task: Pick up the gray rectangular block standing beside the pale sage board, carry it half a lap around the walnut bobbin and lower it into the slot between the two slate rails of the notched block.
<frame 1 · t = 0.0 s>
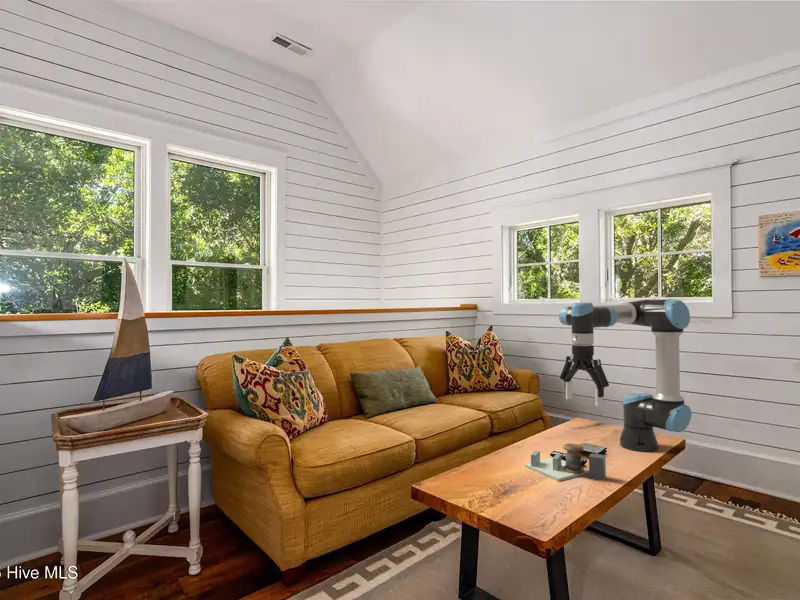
hand: (583, 402, 175), 28 cm above the table, fingers open, 13 cm apart
gray rectangular block: (597, 477, 176), on the table
notch: (546, 468, 185), resting on board
bobbin: (573, 472, 180), resting on board
board: (556, 469, 184), on the table
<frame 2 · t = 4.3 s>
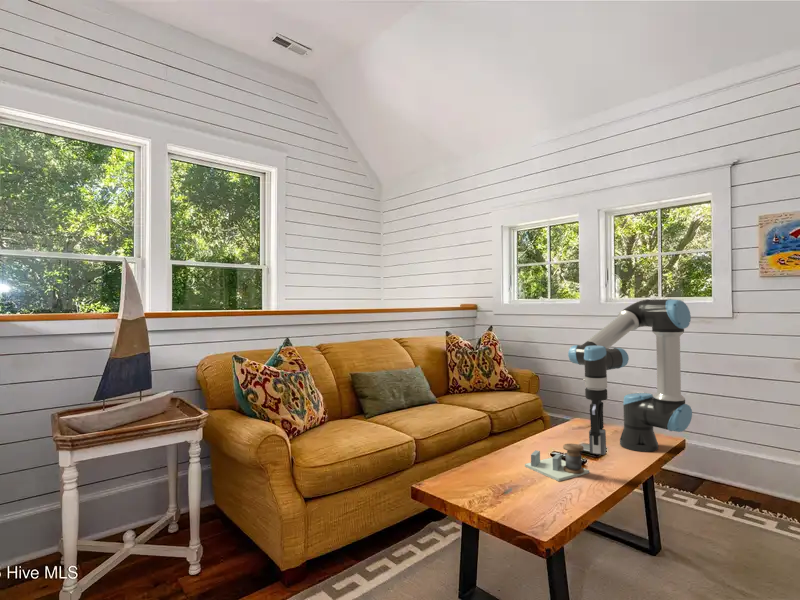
hand: (598, 451, 176), 10 cm above the table, fingers closed on gray rectangular block, 4 cm apart
gray rectangular block: (598, 452, 176), point 9 cm above the table, touching gripper
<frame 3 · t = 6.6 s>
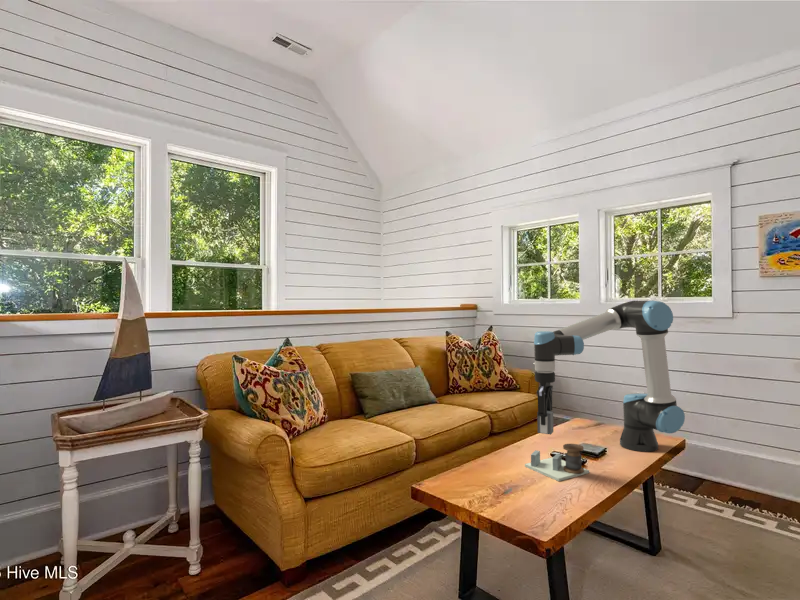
hand: (545, 431, 185), 15 cm above the table, fingers closed on gray rectangular block, 4 cm apart
gray rectangular block: (545, 432, 185), point 14 cm above the table, touching gripper
when the fingers open (2 cm above the table, at t = 9.5 s): gray rectangular block stays where it is, resting on board.
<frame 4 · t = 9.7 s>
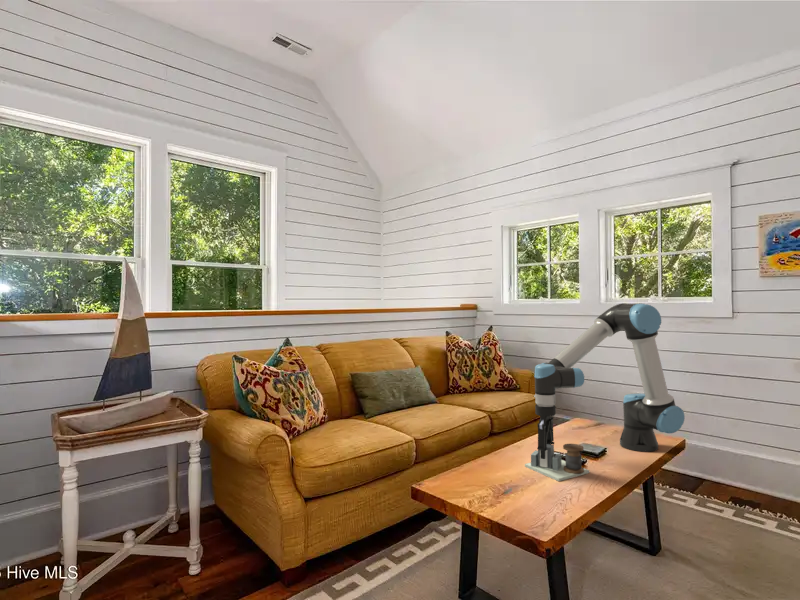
hand: (546, 463, 185), 2 cm above the table, fingers open, 6 cm apart
gray rectangular block: (546, 466, 185), point 1 cm above the table, touching board
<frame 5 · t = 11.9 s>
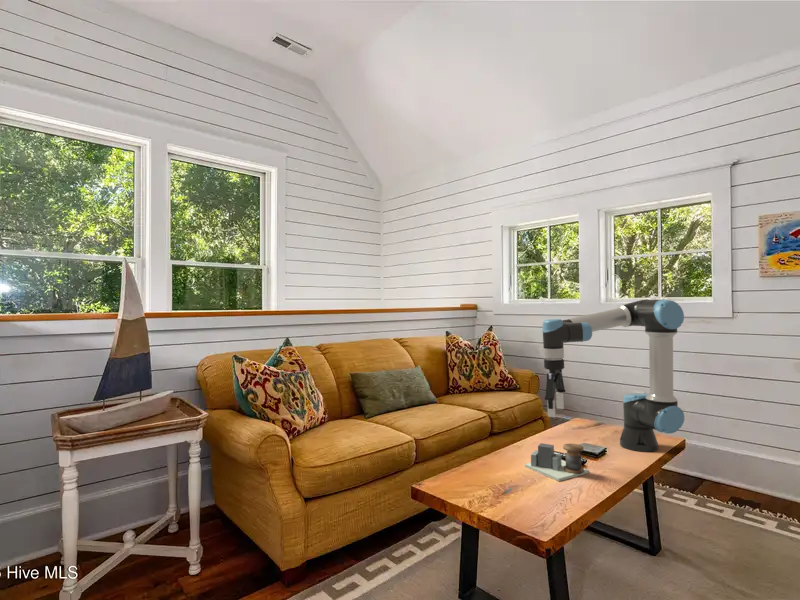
hand: (556, 412, 187), 21 cm above the table, fingers open, 13 cm apart
nothing on the table moved.
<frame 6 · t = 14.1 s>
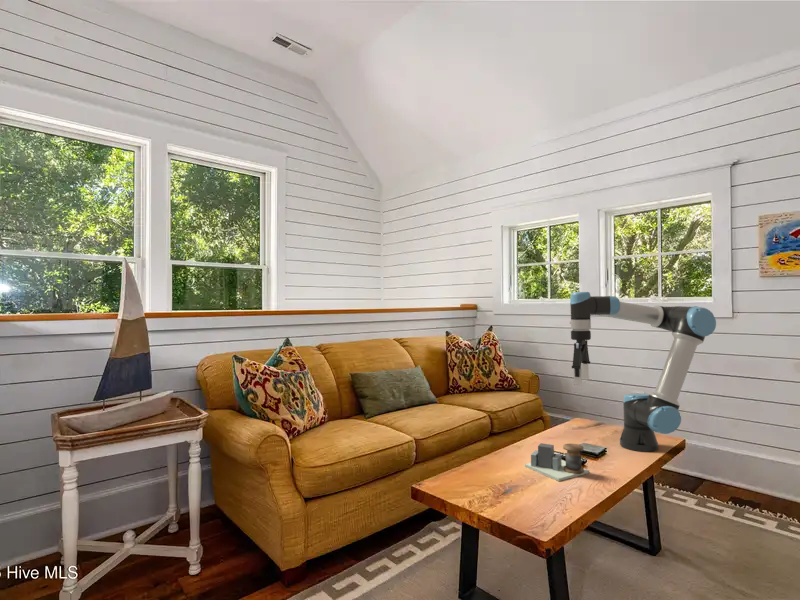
hand: (581, 382, 194), 32 cm above the table, fingers open, 13 cm apart
nothing on the table moved.
at the end: gray rectangular block 0.0 cm off-centre on the notch, point 1.0 cm above the notch's base; gray rectangular block tilted 0°; the gripper is holding nothing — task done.
